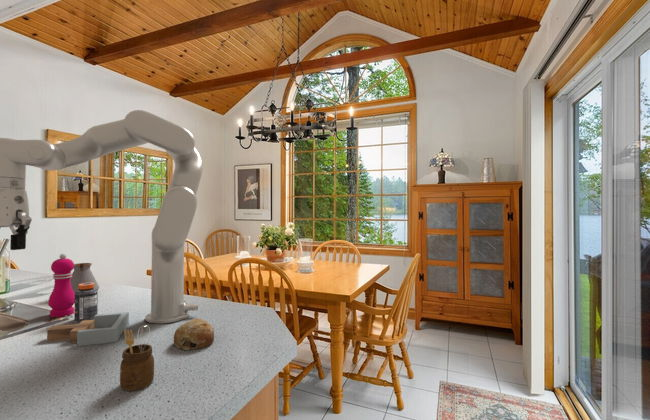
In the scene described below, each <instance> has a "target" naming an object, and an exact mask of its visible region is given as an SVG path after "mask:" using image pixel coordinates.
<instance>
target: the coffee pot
mask: <svg viewBox="0 0 650 420" xmlns="http://www.w3.org/2000/svg"><path fill="white" fill-rule="evenodd" d="M92 265H93V263H92V262H82V263H81V262H80V263H79V262H78V263H74V269H73V270H72V271H73V272H71V273H72V277H71V280H70V282H71V287H72V289H73V291H74V293H76V292H77V291H78V290H79V289H78V285H79V284H82V283H94V289H96V290H97V292H98V291H99V289H100V285H99V284H98V282H97V280H96V278H95V276H94V275H93V272H92V270H91V266H92Z"/></svg>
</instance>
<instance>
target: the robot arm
mask: <svg viewBox="0 0 650 420" xmlns="http://www.w3.org/2000/svg"><path fill="white" fill-rule="evenodd" d="M146 144H151V145H153V146H155V147H158V148H161V149H163V150H165V152H166V153H167V154H168V156H169V157H171V159H173V161H174V170H173V172H172V173H173V174H172V177H171V180H170V183H169V186H168V188H167V191H166V193H165V194H164V196H163V201H162V203H161V205H160V210H159V212H158V215H157V218H156V221H155V224H154V227H152V231H151V274H150V275H151V285H150V286H151V287H150V293H151V294H150V298H151V299H150V312H149V313H147V314H146V315H145V316H144V318H145V322H147V323H149V324H170V323H175V322H178V321H181V320H184V319H186V318H187V317H188V316H189V314H190V313H189V312H190V311H199V304H198V303H197V304H196V303H194V302H193V303H186V299H184V298H185V296H184V295H185V294H184V293H185V290H184V289H185V288H184V287H185V243H186V241H187V239H188V236H189V233H190V229H191V226H192V223H193V220H194V218H195V217H194V216H195V213H196V211H197V207H198V198H197V193H198V190H199V187H200V183H201V178H202V176H203V175H202V174H203V168H204V167H203V162H202V157H201V155H200V153H199V151H198V150H197V149H196V139H195V137H194V135H193V134H192V133H191V132H190V131H189V130H188V129H186V128H185V127H183V126H181V125H179V124H177V123H174V122H172V121H169V120H167V119H165V118H163V117H160V116H159V115H156V114H154V113H151V112H149V111H145V110H142V109H141V110H140V109H136V110H132V111H129V112H128V113H127V114H126V115H125V117H124V118H123V119H119V120H116V121H111V122H107V123H102V124H98V125H93V126H91V127H90V128H89V129H87V130H86V131H85V132H84V133H83V134H82V135H80V136H78V137H76V138H73V139H70V140H67V141H64V142H63V141H62V142H59V143H54V144H53V143H51V142H49V141H47V140H44V139H14V138H9V137H0V229H1V228H9V229H10V231H11V233H12V234H10V242H9V244H10V251H18V250H19V251H20V250H25V249H26V248H27V247H26V246H27V245H26V244H27V234H28V231H29V229H30V227H31V226H30V225H31V222H32V219H33V218H32V217H31V216H30V208H29V207H30V205H29V199H28V198H29V197H28V193H27V190H26V177H27V176H26V175H27V171H26V170H27V167H26V166H30V167H35V168H38V169H41V170H44V171H50V172H51V171H58V170H63V169H67V168H71V167H74V166H78V165H80V164H84V163H87V162H89V161H92V160H95V159H98V158H102V157H104V156H106V155H109V154H112V153H113V154H114V153H116V152H120V151H123V150H128V149H132V148H135V147H138V146H143V145H146Z"/></svg>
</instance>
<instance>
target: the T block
mask: <svg viewBox="0 0 650 420" xmlns="http://www.w3.org/2000/svg"><path fill="white" fill-rule="evenodd" d="M88 329H96V328H95V320H83V321H81V322H78V323H75V324H65V325H64V324H63V325H52V326H51V327H49V328H48V329H46V342H55V341H65V340H67V341H68V340H69V343H70V344H72V343H73V344H74V343H77V332H78V331H79V330H88Z"/></svg>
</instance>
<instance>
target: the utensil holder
mask: <svg viewBox="0 0 650 420" xmlns="http://www.w3.org/2000/svg"><path fill="white" fill-rule="evenodd" d="M146 327H147V329H149V333H148V335H151V329H150V328H151V327H149V325H141V326H140V327H139V328H138V331H137V335H136V336H137V337H136V338H139V334H140V332H141V334H140V338H142V334H143V332H144V330H143V329H142V328H146ZM140 329H141V330H140ZM123 333H124V341H125V345H128V347H127V348H125V349H124V350H123V352H122V356H121V357H122V359H121V362H120V367H119V368H120V370H119V385H120V386H119V387H120V388H121V390H123V391H125V390H126V391H125V392H133V391H134V392H135V391H139V390H142V389H145V388H147V387H149V386H150V385H151V384H152V383H153V381H154V378H155V358H154V355H153V347H152V345H150V344H148V343H149V341H150V338H151V336H148V337H147V333H145V336H144V337H145V339H147V338H148V339H147V340H144V342H143V343H144V344H143V343H142V341H139V340H137V341H136V342H137V344H135V340H134V334H133V329H127V330H126V329H124V331H123ZM146 342H147V343H146ZM134 344H135V345H134Z"/></svg>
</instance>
